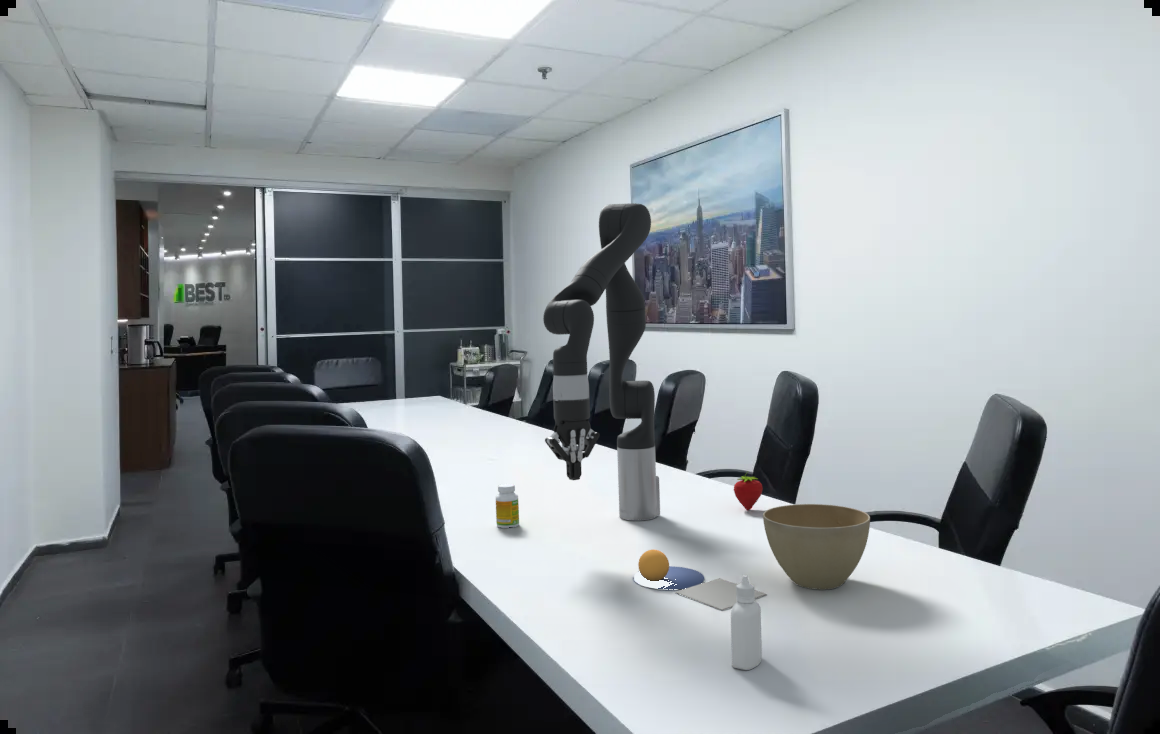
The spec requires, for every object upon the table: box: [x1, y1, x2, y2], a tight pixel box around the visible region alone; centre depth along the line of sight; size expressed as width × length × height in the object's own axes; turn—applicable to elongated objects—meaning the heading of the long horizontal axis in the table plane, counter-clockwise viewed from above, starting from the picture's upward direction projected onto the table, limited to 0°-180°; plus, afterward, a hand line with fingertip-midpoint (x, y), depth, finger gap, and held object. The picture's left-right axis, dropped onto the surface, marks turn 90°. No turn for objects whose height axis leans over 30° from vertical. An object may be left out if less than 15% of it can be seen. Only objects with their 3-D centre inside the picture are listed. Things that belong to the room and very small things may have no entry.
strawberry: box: [733, 472, 764, 511], centre depth 190 cm, size 6×8×10 cm
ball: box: [637, 549, 670, 581], centre depth 140 cm, size 6×6×6 cm
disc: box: [658, 565, 705, 591], centre depth 141 cm, size 13×13×1 cm
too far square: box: [675, 577, 768, 611], centre depth 131 cm, size 11×11×1 cm
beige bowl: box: [762, 503, 871, 590], centre depth 136 cm, size 18×18×12 cm
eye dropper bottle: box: [730, 574, 763, 671], centre depth 104 cm, size 4×6×12 cm
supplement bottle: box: [495, 483, 520, 529], centre depth 183 cm, size 5×5×10 cm
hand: (574, 479), depth 160 cm, fingers closed
